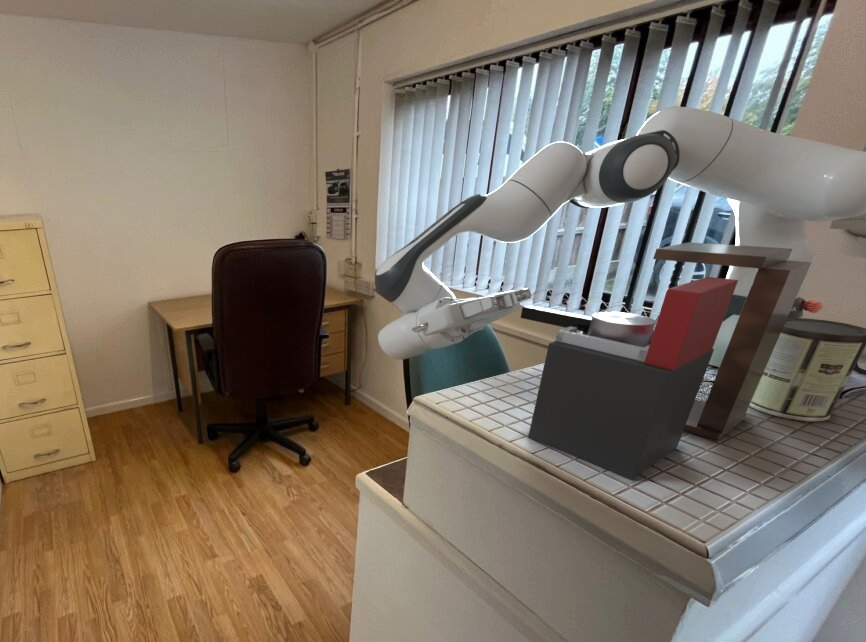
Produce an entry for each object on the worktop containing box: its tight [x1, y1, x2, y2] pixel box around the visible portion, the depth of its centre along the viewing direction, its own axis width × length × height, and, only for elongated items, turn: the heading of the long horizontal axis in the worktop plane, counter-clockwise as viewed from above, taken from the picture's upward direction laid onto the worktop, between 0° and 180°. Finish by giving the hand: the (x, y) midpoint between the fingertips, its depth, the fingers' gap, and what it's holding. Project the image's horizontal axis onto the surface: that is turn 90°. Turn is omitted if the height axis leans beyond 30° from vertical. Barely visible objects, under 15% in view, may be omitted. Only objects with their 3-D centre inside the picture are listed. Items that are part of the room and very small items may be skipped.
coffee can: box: [749, 317, 866, 423], centre depth 73 cm, size 10×10×14 cm
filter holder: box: [520, 304, 656, 347], centre depth 66 cm, size 17×7×4 cm, turn 33°
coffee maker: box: [527, 276, 738, 481], centre depth 63 cm, size 14×14×24 cm
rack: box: [652, 242, 811, 441], centre depth 71 cm, size 14×12×26 cm
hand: (511, 296), depth 74 cm, fingers open, 8 cm apart
